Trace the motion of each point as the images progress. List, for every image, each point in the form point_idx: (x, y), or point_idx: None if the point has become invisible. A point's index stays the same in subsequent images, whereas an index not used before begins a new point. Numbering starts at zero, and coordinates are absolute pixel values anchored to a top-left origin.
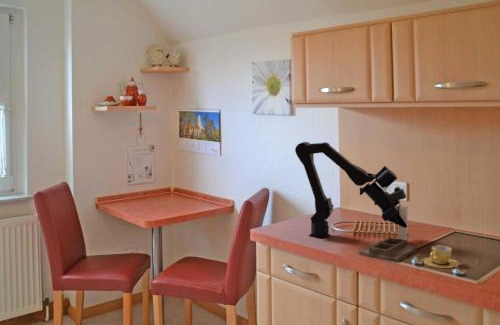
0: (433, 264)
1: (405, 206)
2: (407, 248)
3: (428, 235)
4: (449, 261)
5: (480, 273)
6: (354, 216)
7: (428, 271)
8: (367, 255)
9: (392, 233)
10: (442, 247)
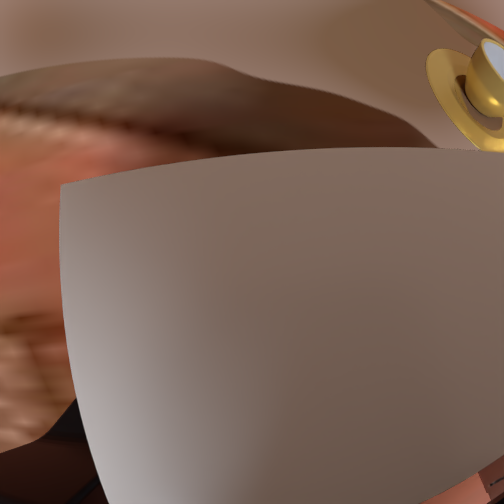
0: None
1: (135, 297)
2: None
3: (13, 186)
4: (453, 71)
5: (472, 29)
6: None
7: None
8: None
9: (44, 414)
10: (485, 62)
